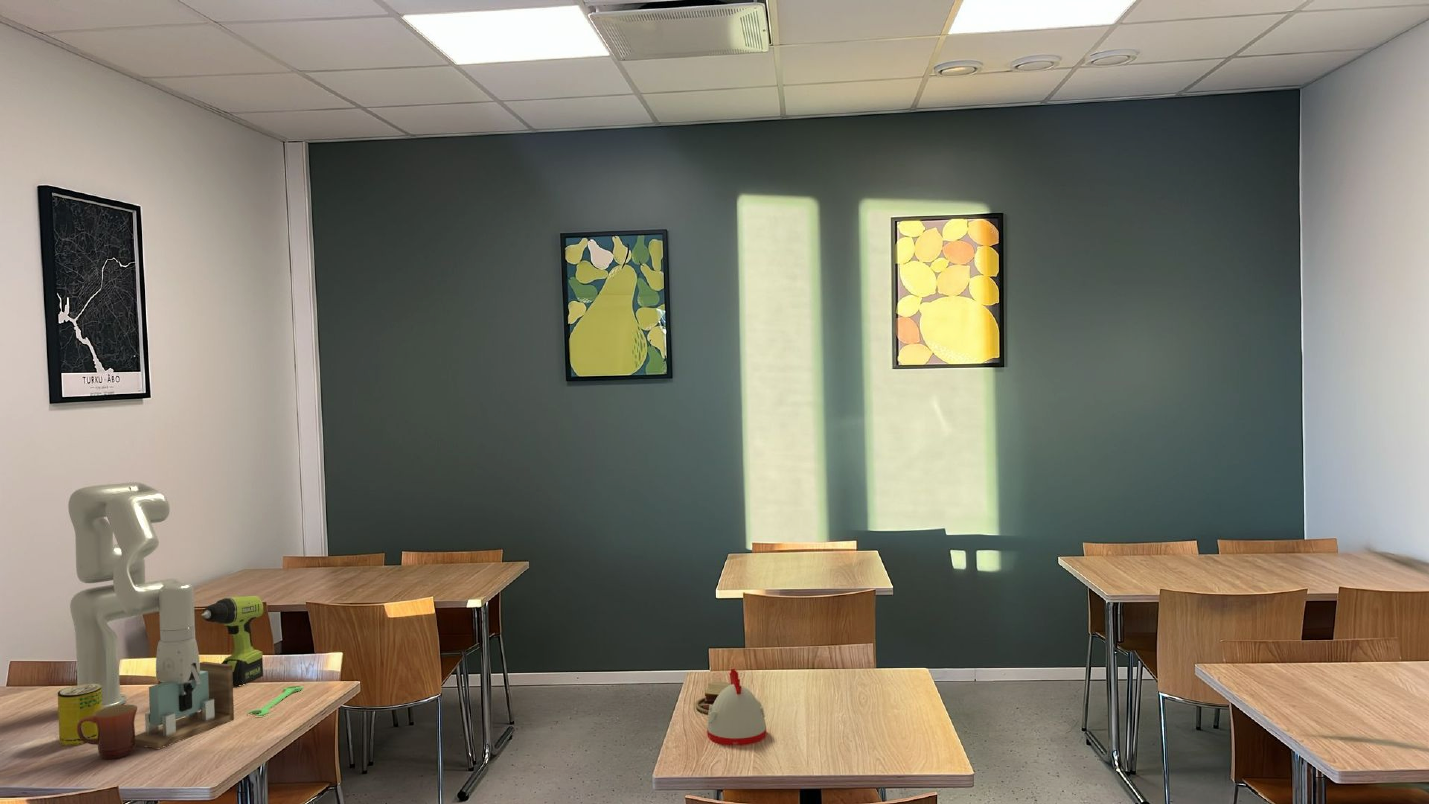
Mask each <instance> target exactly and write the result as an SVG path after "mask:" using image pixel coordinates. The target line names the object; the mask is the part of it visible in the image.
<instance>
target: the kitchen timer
mask: <svg viewBox="0 0 1429 804" xmlns="http://www.w3.org/2000/svg"><path fill="white" fill-rule="evenodd" d="M729 679H730V680H729V683H731V685H730V686H728V687H726V688H725V689H724V690H723V691H722V692H721V693H720V694H719V695H718V697H717V698H716V700H715V702H714V704H713V705H710V706H709V713H708V715H707V724H706V726H707V727H706V728H707V729H706V735H707V738H708V739H709V740H710V741H711V742H714V743H715V744H721V745H725V746H726V745H727V746H746V745H751V744H756V743H759V742H761V741H762V740H764V739H765V738H766V736H767V724H766V720H765V718H766V717H765V716H766V715H765V712H764V707H763V706H762V703H761V702H760V700H759V699H757V697H756V696H755V695H754V694H753V693H752V691H750V690H749V688H747V687H745V686H744V685H743V684H740V683H741V679H740V678H739V672H737V670H736V669H735V668H733V669H732V668H731V669H730V672H729Z"/></svg>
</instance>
